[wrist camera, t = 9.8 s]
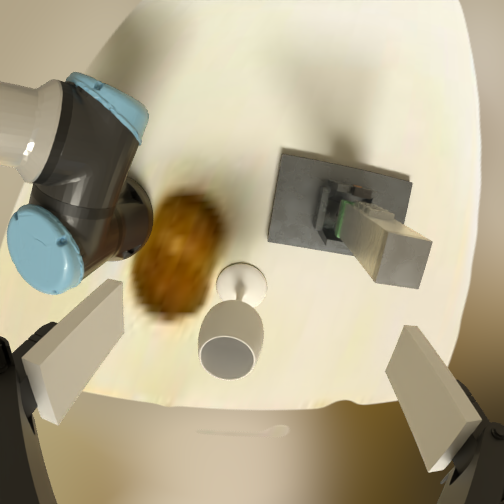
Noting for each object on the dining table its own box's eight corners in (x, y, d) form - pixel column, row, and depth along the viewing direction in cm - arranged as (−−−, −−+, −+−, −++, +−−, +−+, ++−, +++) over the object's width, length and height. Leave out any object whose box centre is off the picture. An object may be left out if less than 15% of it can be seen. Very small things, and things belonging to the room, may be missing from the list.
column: (332, 232, 44) (372, 284, 26) (340, 194, 43) (388, 223, 25) (364, 237, 44) (419, 291, 26) (372, 201, 43) (436, 234, 24)
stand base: (267, 239, 53) (267, 258, 43) (281, 154, 48) (285, 153, 39) (391, 260, 52) (412, 281, 43) (409, 181, 48) (436, 188, 39)
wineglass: (273, 271, 54) (275, 339, 34) (258, 315, 57) (252, 394, 37) (223, 256, 54) (197, 317, 34) (211, 301, 56) (183, 375, 36)
